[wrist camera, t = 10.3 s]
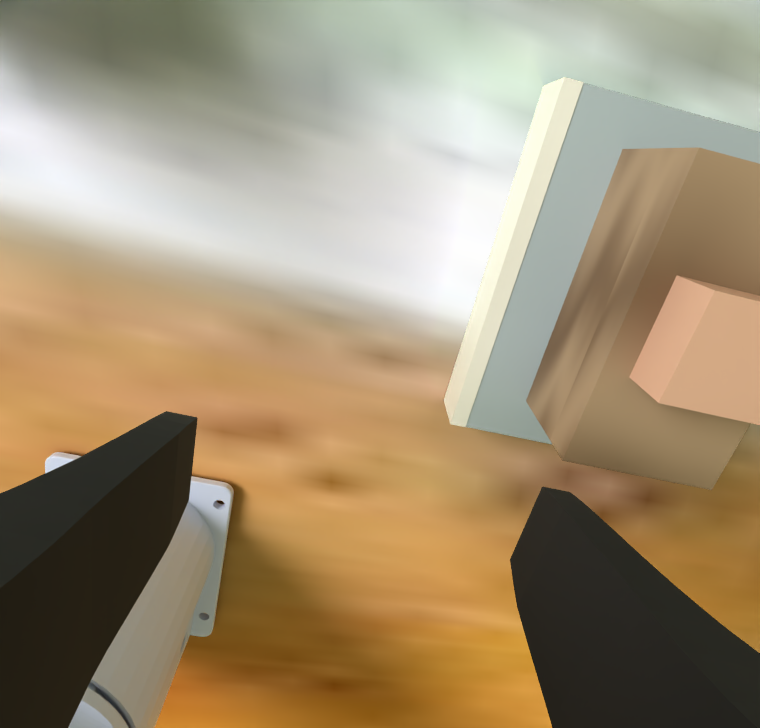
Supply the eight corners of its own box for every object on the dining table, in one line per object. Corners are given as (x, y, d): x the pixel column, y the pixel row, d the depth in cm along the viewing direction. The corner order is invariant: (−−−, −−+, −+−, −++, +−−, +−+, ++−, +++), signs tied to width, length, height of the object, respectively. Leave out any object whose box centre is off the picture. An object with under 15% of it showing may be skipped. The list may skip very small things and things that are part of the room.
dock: (661, 445, 22) (687, 472, 20) (443, 400, 21) (450, 424, 19) (810, 159, 18) (862, 160, 16) (543, 85, 17) (564, 77, 15)
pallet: (647, 426, 19) (711, 490, 16) (525, 401, 19) (562, 460, 15) (767, 187, 16) (883, 197, 12) (622, 148, 16) (699, 147, 12)
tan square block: (724, 398, 15) (764, 426, 13) (629, 377, 14) (658, 402, 13) (779, 300, 13) (829, 318, 12) (676, 275, 13) (715, 290, 12)
